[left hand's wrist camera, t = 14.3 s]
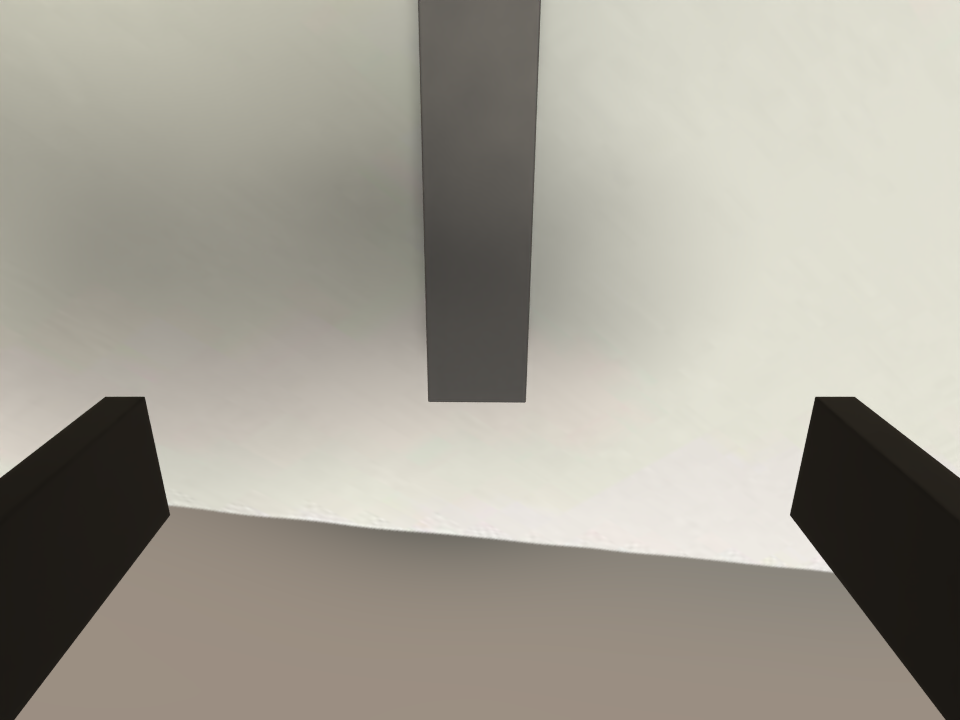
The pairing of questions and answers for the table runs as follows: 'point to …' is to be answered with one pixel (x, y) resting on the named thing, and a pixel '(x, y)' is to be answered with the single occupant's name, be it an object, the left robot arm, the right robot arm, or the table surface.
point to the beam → (478, 193)
